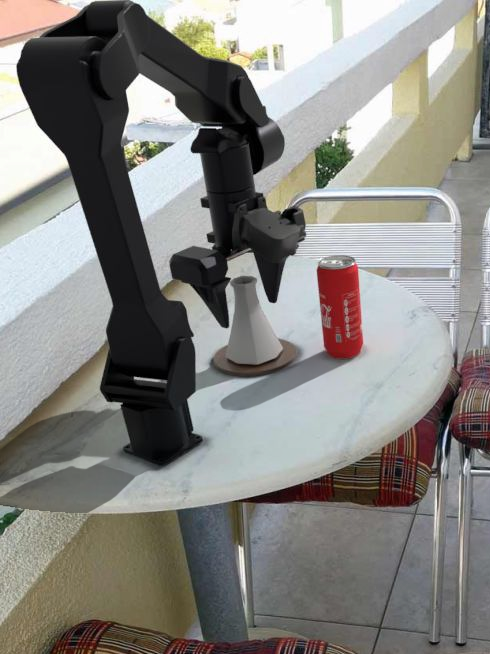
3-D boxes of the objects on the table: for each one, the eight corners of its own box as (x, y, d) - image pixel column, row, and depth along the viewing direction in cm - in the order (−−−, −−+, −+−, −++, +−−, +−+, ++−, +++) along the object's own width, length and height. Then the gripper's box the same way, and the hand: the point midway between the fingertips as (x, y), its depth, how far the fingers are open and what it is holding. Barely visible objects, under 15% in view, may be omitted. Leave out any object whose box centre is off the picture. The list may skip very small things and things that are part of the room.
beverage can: (359, 361, 111) (352, 269, 103) (320, 359, 112) (311, 268, 104) (367, 344, 115) (361, 254, 107) (329, 343, 116) (321, 254, 108)
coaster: (259, 383, 107) (258, 379, 107) (196, 365, 113) (196, 361, 112) (313, 350, 114) (313, 346, 114) (252, 334, 120) (251, 331, 119)
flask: (292, 349, 114) (283, 274, 108) (259, 370, 109) (247, 294, 103) (250, 339, 117) (239, 266, 111) (216, 360, 112) (202, 285, 106)
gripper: (226, 217, 91) (248, 354, 100) (332, 174, 102) (342, 300, 112) (153, 205, 96) (181, 336, 106) (262, 165, 108) (278, 287, 117)
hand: (249, 314), depth 110 cm, fingers open, 9 cm apart
